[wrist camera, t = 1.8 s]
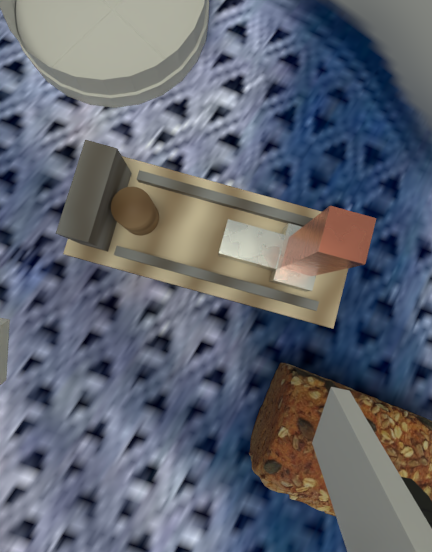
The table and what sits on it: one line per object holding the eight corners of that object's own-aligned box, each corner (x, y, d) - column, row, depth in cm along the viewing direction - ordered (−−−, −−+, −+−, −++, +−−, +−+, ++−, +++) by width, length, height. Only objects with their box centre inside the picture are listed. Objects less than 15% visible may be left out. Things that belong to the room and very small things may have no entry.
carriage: (214, 266, 36) (219, 245, 22) (229, 213, 37) (243, 160, 23) (305, 291, 36) (365, 286, 22) (318, 238, 37) (386, 200, 23)
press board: (68, 255, 38) (34, 244, 30) (100, 154, 39) (74, 120, 31) (328, 327, 38) (358, 334, 30) (353, 225, 39) (388, 207, 31)
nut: (119, 202, 37) (107, 190, 33) (155, 195, 37) (148, 183, 33) (125, 238, 36) (114, 230, 32) (162, 231, 37) (155, 223, 33)
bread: (242, 443, 37) (255, 496, 27) (279, 351, 38) (304, 370, 28) (401, 509, 37) (472, 587, 27) (434, 416, 38) (515, 458, 28)
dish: (247, 19, 40) (252, -21, 35) (116, 147, 39) (102, 125, 34) (115, -102, 41) (102, -158, 36) (-19, 19, 40) (-52, -21, 35)
